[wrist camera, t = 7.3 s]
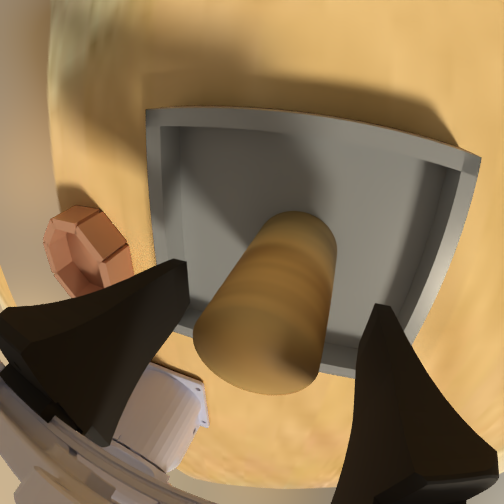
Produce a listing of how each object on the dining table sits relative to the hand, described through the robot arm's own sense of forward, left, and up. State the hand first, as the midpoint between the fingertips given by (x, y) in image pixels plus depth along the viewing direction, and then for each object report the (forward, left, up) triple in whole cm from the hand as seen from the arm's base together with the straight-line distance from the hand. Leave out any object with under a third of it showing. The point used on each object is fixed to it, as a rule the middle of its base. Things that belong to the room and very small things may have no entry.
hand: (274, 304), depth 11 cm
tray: (0, 0, -5) cm, 5 cm away
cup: (-4, +15, -5) cm, 16 cm away
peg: (0, 0, -4) cm, 4 cm away
